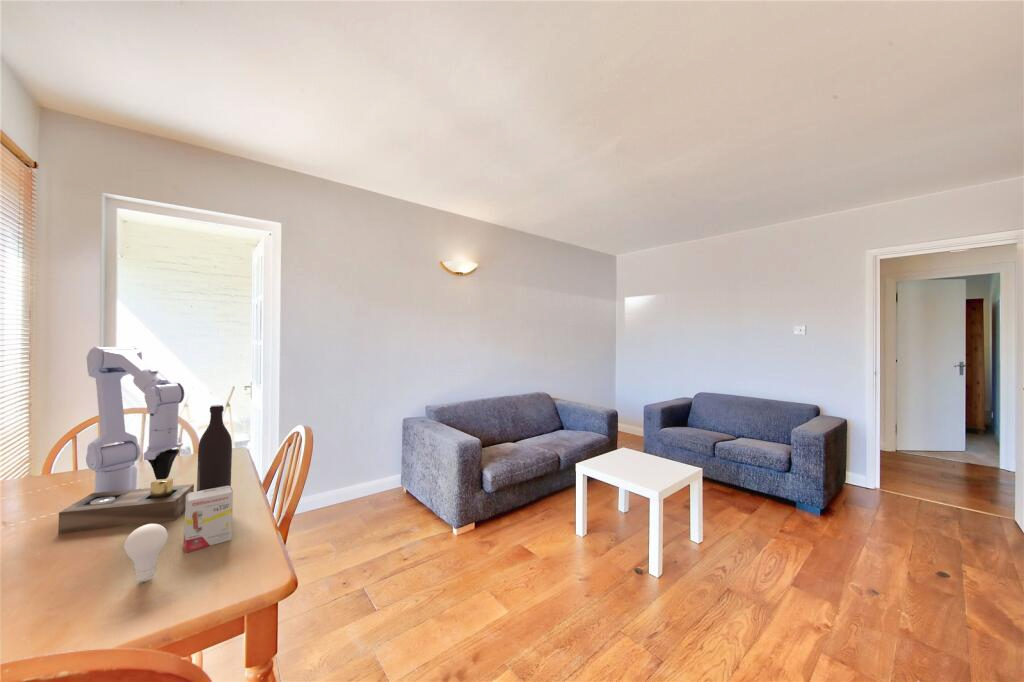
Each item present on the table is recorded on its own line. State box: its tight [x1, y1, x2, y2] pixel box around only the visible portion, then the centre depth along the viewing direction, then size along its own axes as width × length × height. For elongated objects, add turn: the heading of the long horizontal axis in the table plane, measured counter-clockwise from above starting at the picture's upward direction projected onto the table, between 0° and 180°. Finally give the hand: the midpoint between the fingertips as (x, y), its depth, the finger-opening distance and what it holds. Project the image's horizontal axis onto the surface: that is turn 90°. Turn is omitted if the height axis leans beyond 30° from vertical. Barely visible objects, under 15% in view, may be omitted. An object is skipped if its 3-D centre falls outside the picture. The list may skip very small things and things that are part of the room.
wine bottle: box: [196, 404, 233, 491], centre depth 99 cm, size 7×7×30 cm
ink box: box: [183, 485, 234, 553], centre depth 88 cm, size 9×5×12 cm, turn 133°
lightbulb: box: [124, 523, 169, 583], centre depth 74 cm, size 6×6×11 cm
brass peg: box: [150, 477, 174, 499], centre depth 102 cm, size 4×4×5 cm
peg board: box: [57, 483, 195, 534], centre depth 100 cm, size 12×22×5 cm, turn 111°
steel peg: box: [90, 497, 115, 505], centre depth 97 cm, size 4×4×5 cm
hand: (162, 478), depth 102 cm, fingers closed
